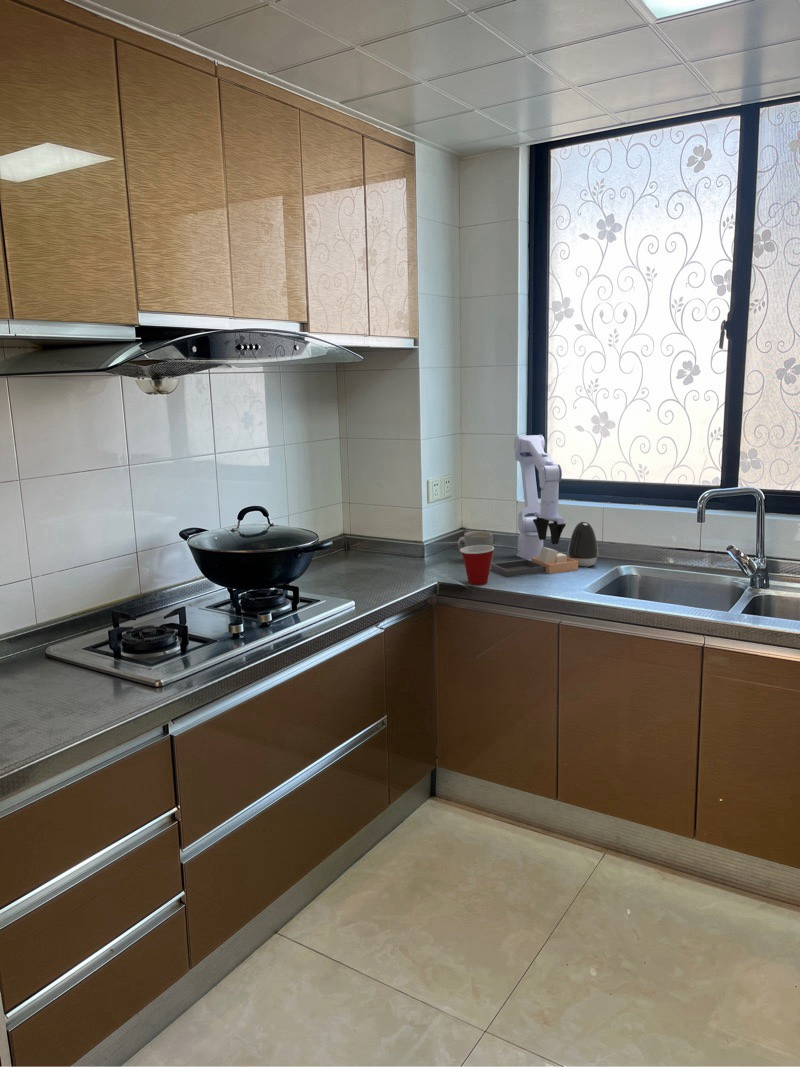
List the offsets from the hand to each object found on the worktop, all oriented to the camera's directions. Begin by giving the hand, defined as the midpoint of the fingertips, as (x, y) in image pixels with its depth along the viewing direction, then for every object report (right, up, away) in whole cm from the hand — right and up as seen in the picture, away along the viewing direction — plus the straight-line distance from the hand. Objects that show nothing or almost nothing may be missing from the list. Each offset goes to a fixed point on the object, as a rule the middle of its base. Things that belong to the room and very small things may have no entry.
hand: (548, 541), depth 267 cm
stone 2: (+4, -9, +3) cm, 10 cm away
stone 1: (-1, -7, +1) cm, 7 cm away
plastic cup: (-25, -14, -13) cm, 32 cm away
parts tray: (-10, -10, 0) cm, 15 cm away
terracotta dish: (+2, -9, +3) cm, 10 cm away
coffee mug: (-23, -7, +17) cm, 30 cm away
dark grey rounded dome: (+13, -8, +8) cm, 18 cm away
